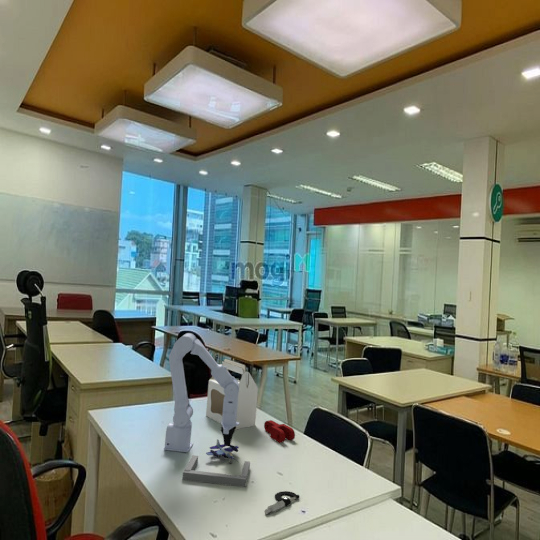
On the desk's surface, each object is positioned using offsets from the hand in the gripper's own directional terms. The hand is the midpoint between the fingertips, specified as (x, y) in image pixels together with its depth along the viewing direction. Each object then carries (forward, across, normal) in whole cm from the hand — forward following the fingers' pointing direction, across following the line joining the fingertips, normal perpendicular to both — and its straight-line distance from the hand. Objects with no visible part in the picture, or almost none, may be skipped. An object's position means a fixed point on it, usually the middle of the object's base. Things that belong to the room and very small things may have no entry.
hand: (227, 445), depth 157 cm
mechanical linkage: (+2, +20, -19) cm, 28 cm away
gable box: (+2, +33, +4) cm, 34 cm away
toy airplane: (+2, -8, 0) cm, 8 cm away
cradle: (+2, -19, 0) cm, 19 cm away
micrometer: (+3, -32, -21) cm, 39 cm away
